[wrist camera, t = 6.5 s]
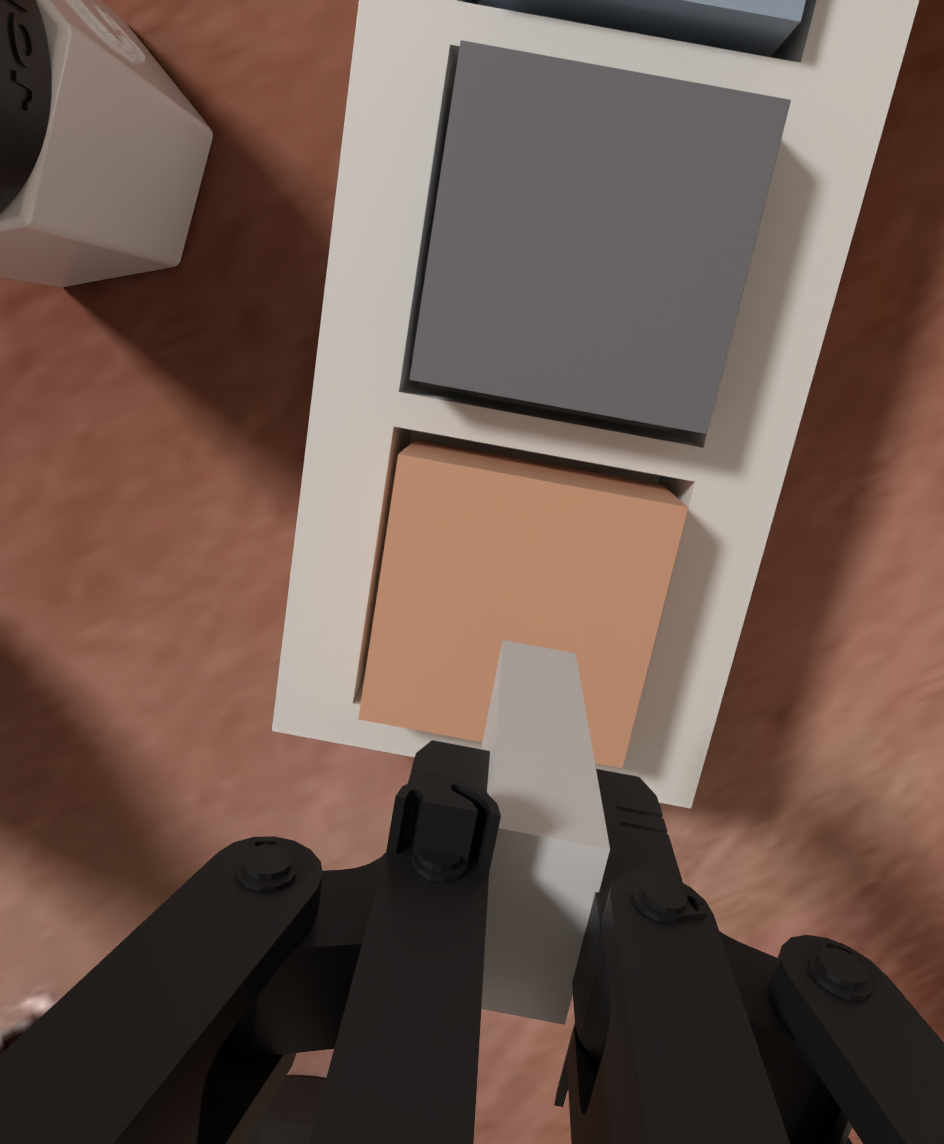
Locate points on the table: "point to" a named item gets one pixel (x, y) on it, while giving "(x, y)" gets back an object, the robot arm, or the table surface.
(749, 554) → the board
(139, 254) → the jar
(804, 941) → the robot arm
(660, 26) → the slate key
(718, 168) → the charcoal key
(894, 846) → the table surface
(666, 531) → the terracotta key
